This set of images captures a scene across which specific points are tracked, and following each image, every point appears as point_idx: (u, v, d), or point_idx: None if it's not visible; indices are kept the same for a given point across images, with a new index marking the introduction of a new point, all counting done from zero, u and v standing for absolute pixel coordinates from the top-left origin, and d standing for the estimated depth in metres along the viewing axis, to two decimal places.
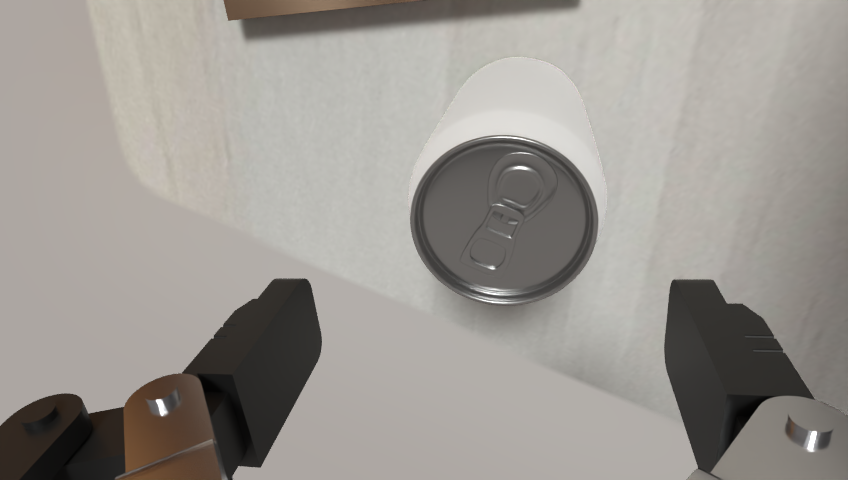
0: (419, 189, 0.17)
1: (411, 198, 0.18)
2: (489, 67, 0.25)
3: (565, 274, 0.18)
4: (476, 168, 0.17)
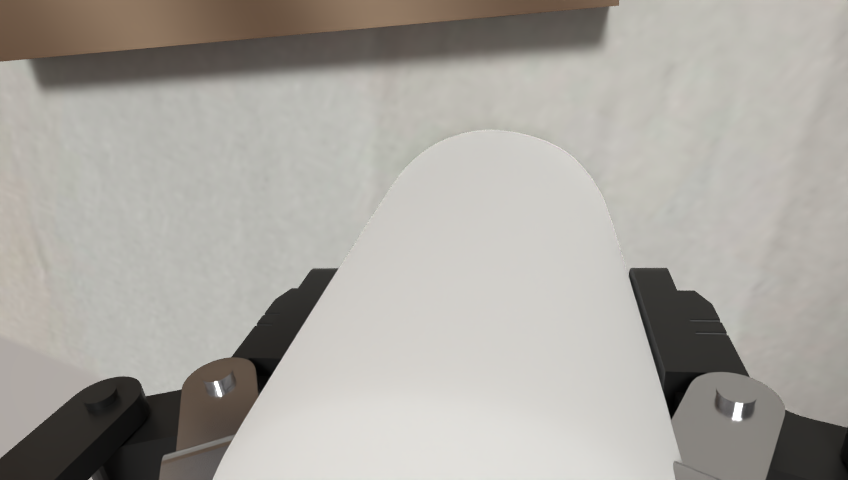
0: None
1: None
2: (439, 155, 0.13)
3: None
4: None
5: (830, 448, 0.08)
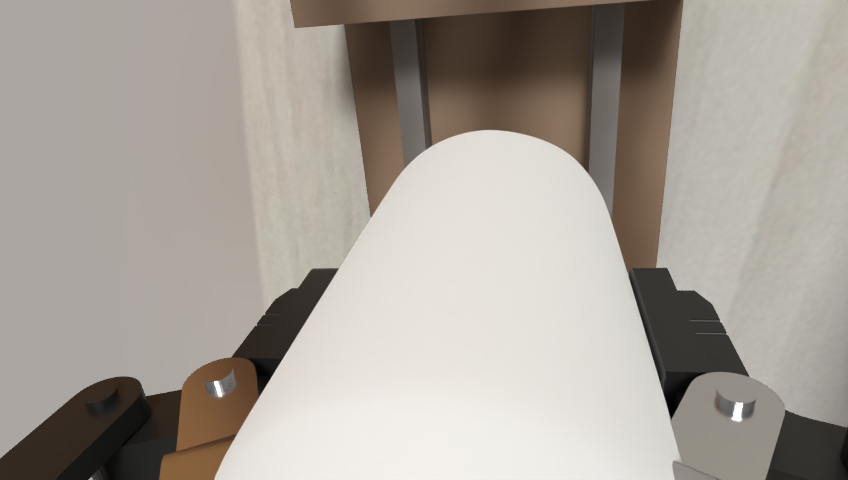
0: None
1: None
2: (440, 155, 0.13)
3: None
4: None
5: (830, 448, 0.08)
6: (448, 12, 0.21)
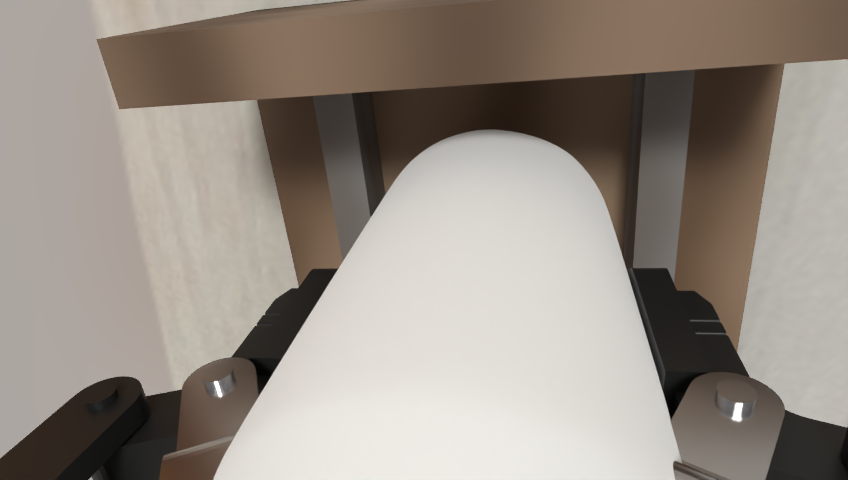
0: None
1: None
2: (439, 155, 0.13)
3: None
4: None
5: (830, 448, 0.08)
6: (383, 84, 0.12)
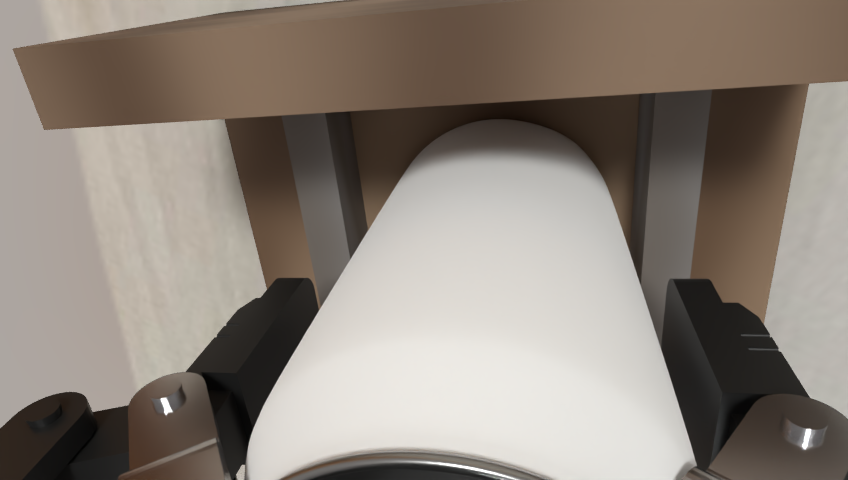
0: None
1: None
2: (451, 142, 0.14)
3: None
4: None
5: None
6: (350, 103, 0.10)
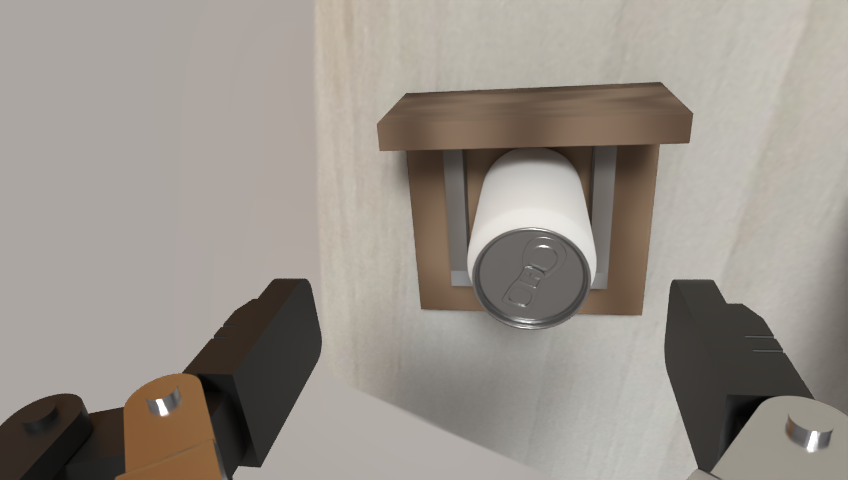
0: (479, 257, 0.27)
1: (470, 259, 0.28)
2: (514, 156, 0.35)
3: (569, 310, 0.28)
4: (516, 245, 0.27)
5: None
6: (492, 145, 0.30)
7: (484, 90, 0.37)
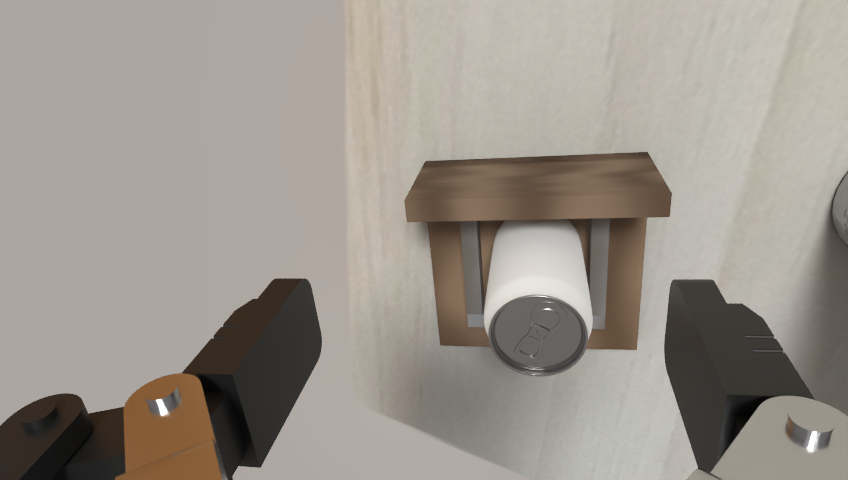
0: (494, 318, 0.32)
1: (487, 318, 0.34)
2: None
3: (570, 360, 0.33)
4: (525, 308, 0.32)
5: None
6: (503, 218, 0.36)
7: (494, 159, 0.42)
